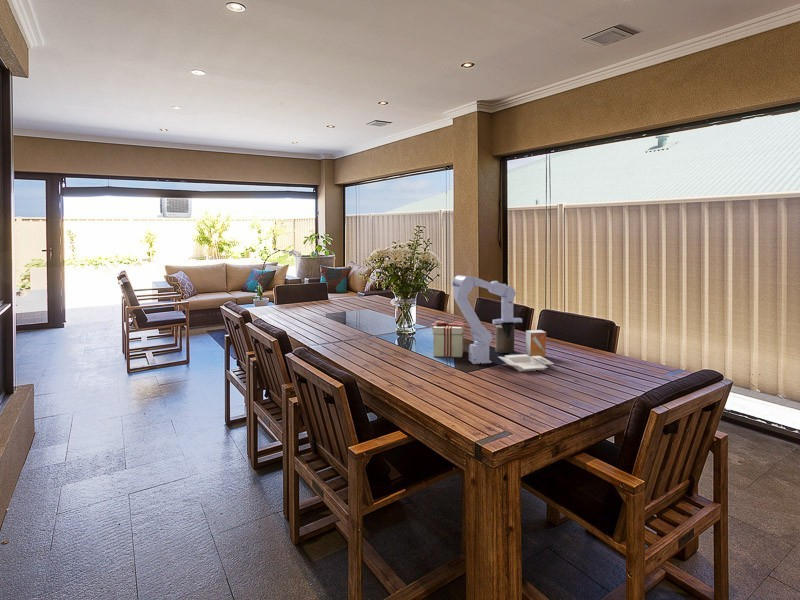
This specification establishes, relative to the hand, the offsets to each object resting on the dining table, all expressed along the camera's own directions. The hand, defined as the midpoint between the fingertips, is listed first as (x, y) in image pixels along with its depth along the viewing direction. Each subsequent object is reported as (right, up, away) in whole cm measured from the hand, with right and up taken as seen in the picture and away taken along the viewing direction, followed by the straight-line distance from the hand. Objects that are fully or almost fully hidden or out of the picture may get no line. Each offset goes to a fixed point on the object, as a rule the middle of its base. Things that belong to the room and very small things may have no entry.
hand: (507, 337), depth 233 cm
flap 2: (+14, -9, -12) cm, 21 cm away
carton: (+5, -12, -13) cm, 19 cm away
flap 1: (-3, -10, -15) cm, 18 cm away
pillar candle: (+2, -9, +14) cm, 17 cm away
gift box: (-28, -9, +13) cm, 32 cm away
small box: (+15, -10, +3) cm, 18 cm away
